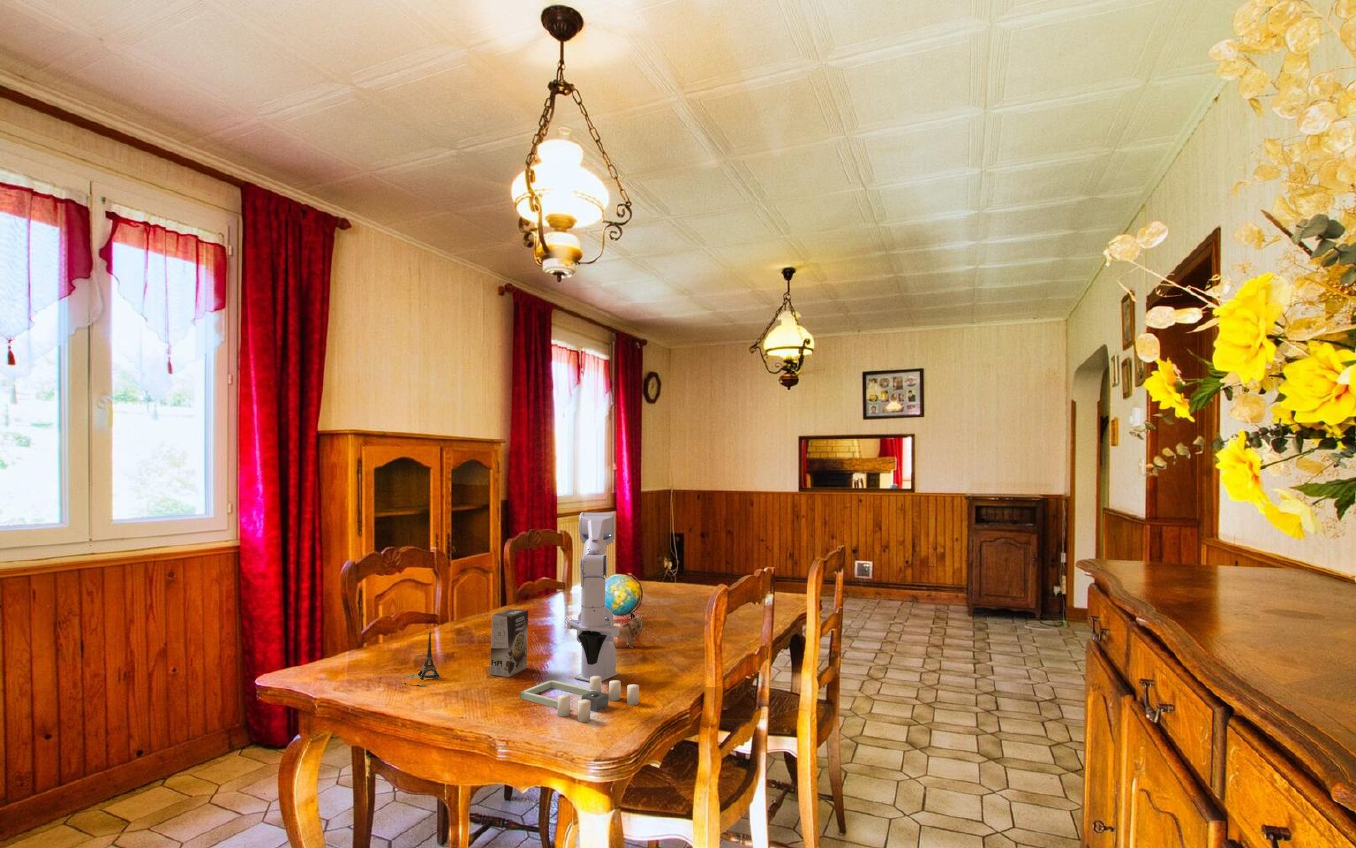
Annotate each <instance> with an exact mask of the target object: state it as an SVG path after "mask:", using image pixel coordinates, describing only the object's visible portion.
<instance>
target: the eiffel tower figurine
mask: <svg viewBox="0 0 1356 848" xmlns="http://www.w3.org/2000/svg"><path fill="white" fill-rule="evenodd" d="M427 643H428V645H427V652H426V656H425V661H424V662H423V664H422V668H421V669H420V670H419V671H420V672H419V673H418V675H417V676H416V674H415V676H414V675H411V674H409V675H410V676H409V675H408V676H407V675H406V676H405V677H404V678H420V680H424V678H439V679H442V677H441V676H440V674H439V673H437V672H438V671H437V669H438V667H436V665H435V664H434V660H433V656H432V653H433V652H432V632H431V631H429V632H428V642H427ZM429 672H431V673H432V674H430V673H429ZM421 674H422V675H421ZM425 685H426V686H425ZM418 687H427V684H423V685H419V686H418Z"/></svg>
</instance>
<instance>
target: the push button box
mask: <svg viewBox="0 0 1356 848" xmlns="http://www.w3.org/2000/svg"><path fill="white" fill-rule="evenodd" d="M584 699H586V700H590V701H591V703H590V712H595V713H597V712H600V711H602V710H603V709H605V708H608V707H609V693H606V692H602V691H601V692H597V691H592V692H589V693H587V694H585V695H581V699H580V700H584Z"/></svg>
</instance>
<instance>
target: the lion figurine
mask: <svg viewBox="0 0 1356 848" xmlns="http://www.w3.org/2000/svg"><path fill="white" fill-rule="evenodd" d="M614 626H615V627H619V628H620V631H619V636H617V637H616V638H618V639H626V645H627V646H628V645H629V646H628V648H630V649H634V648H633V647H634V645H633V642H634V640H633V639H634V638H638V636H639V635H640V634H641V632H642V631H643V629H644V619H643V618H641V617H639V616H635V617H633V618H632V619H631V620H630V621H628V622H626V623H625V625H623V626H617V625H614Z"/></svg>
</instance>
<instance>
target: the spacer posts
mask: <svg viewBox="0 0 1356 848" xmlns="http://www.w3.org/2000/svg"><path fill="white" fill-rule="evenodd" d="M621 682H622V681H621V680H617V679H615V680H614V679H613V680H610V681H609V682H608V685H609V686H608V689H609V690H608V701H613V702H614V701H615V702H617V701H620V700H621V688H622V687H621V684H622V683H621ZM589 689H591V690H595V691H597V692H601V693H602V681H601V677H600V676H592V677H590V682H589ZM626 689H627V691H626V694H627V695H626V705H628V706H638V705H639V704H640V685H639V684H633V683H632V684H631V683H630V684H628V685H627V688H626ZM557 700H558V708H557V717H561V718H563V717H564V718H565V717H568V716H570V715H571V695H570V694H559V695H558V696H557ZM590 703H591V701H590V700H586V699H584V700H581V699H580V700H578V701H577V722H578V723H588V722H590V721H591V711H590Z"/></svg>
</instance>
